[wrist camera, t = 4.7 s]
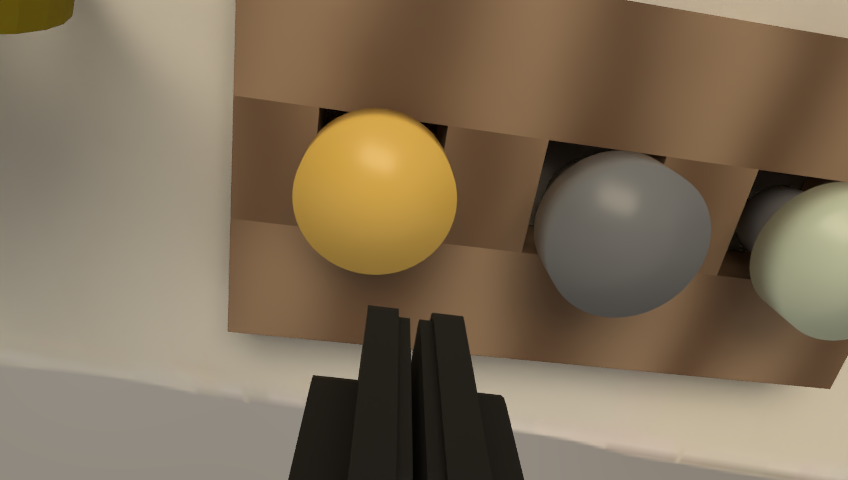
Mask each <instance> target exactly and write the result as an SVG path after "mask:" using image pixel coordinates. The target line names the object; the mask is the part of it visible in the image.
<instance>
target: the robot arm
mask: <svg viewBox="0 0 848 480" xmlns="http://www.w3.org/2000/svg"><path fill="white" fill-rule="evenodd" d="M288 480H524V478H523V473H522V469H521V465H520V461H519V457H518V452H517V448H516V444H515V440H514V436H513V432H512V428H511V423H510V419H509V415H508V411H507V407H506V403H505V400H504V398H503V397H502V396H501V395H494V394H485V393H477V389H476V384H475V378H474V372H473V367H472V361H471V355H470V350H469V344H468V338H467V333H466V327H465V321H464V317H463V316H457V315H449V314H441V313H432V314H431V317H430V320H422V319H419V322H418V326H417V331H416V337H415V343H414V349H413V354H412V360H411V337H410V318H404V317H399V309H398V308H390V307H381V306H373V305H368V309H367V317H366V324H365V332H364V339H363V347H362V354H361V362H360V369H359V377H358V380H353V379H344V378H334V377H325V376H315V375H313V377H312V381H311V385H310V389H309V393H308V397H307V402H306V406H305V410H304V415H303V419H302V423H301V428H300V432H299V436H298V441H297V445H296V449H295V453H294V458H293V462H292V466H291V471H290V475H289V479H288Z"/></svg>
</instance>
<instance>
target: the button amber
mask: <svg viewBox="0 0 848 480" xmlns="http://www.w3.org/2000/svg"><path fill="white" fill-rule="evenodd" d="M292 202H293V209H294V214H295V217H296V221H297V223H298V226H299V228H300V230H301V232H302V234H303V235H304V237H305V239H306V240H307V241H308V242H309V244H310V245H311V246H312V247H313V248H314V249H315V250H316V251H317V252H318V253H319V254H320V255H321V256H322V257H324V258H325V259H326V260H328V261H330V262H331V263H333V264H335V265H336V266H339V267H341V268H343V269H346V270H349V271H352V272H356V273H362V274H370V275H381V274H390V273H395V272H399V271H402V270H406V269H408V268H410V267H412V266H415V265H417V264H418V263H420V262H422V261H423V260H425V259H426V258H427V257H428V256H430V255H431V254H432V253H433V252H434V251H435V250H436V249H437V248H438V247H439V246H440V245H441V243H442V242H443V241H444V239H445V238H446V236H447V234H448V233H449V231H450V228H451V226H452V224H453V221H454V217H455V213H456V207H457V190H456V183H455V179H454V176H453V173H452V170H451V167H450V164H449V161H448V158H447V156H446V153H445V151H444V149H443V147H442V145H441V144H440V142H439V141H438V139H437V138H436V137H435V136H434V134H433V133H432V132H431V131H430V130H429V129H428V128H427V127H425V126H424V125H423V124H422V123H420V122H419V121H417V120H416V119H414V118H412V117H410V116H408V115H406V114H403V113H401V112H398V111H394V110H389V109H382V108H366V109H360V110H355V111H352V112H349V113H346V114H344V115H341V116H339V117H337V118H335V119H334V120H333V121H331V122H330V123H328V124H327V125H326V126H325V127H323V128H322V129H321V130H320V131H319V132H318V133H317V135H316V136H315V137H314V138H313V140H312V141H311V143H310V144H309V146H308V148H307V150H306V152H305V154H304V157H303V159H302V161H301V163H300V165H299V167H298V170H297V172H296V176H295V179H294V184H293V191H292Z"/></svg>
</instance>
